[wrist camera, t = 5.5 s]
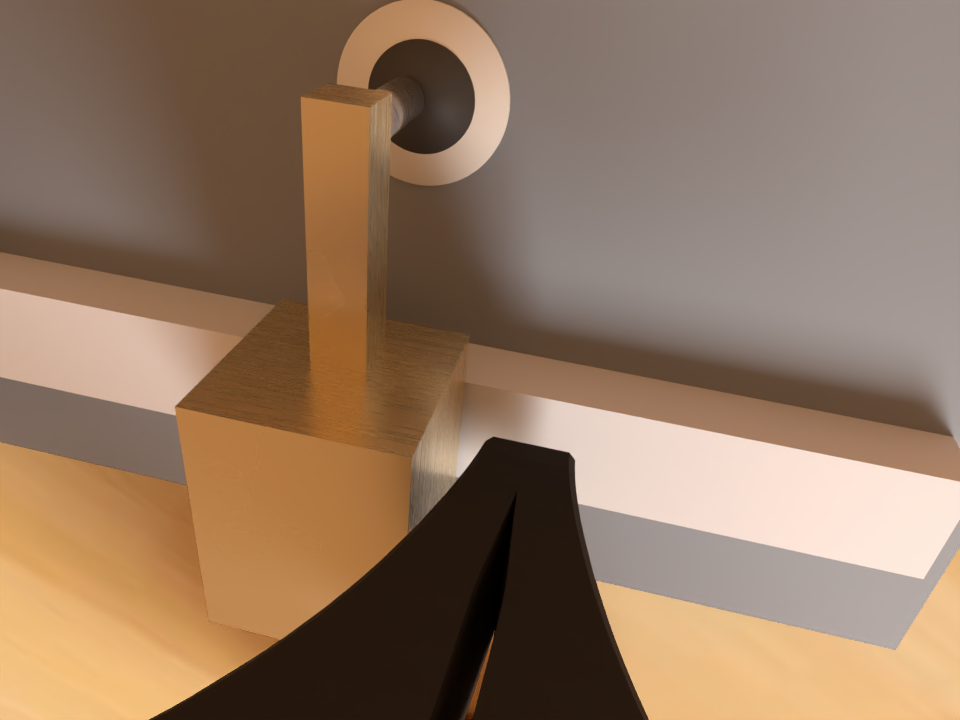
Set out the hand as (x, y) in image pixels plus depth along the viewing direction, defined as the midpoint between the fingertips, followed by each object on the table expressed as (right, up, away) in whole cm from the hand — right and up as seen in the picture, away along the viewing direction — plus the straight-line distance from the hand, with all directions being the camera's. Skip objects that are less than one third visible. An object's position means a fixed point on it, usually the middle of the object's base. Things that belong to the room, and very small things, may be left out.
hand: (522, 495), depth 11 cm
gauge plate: (-2, +4, +3) cm, 6 cm away
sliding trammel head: (-2, +3, +1) cm, 4 cm away
